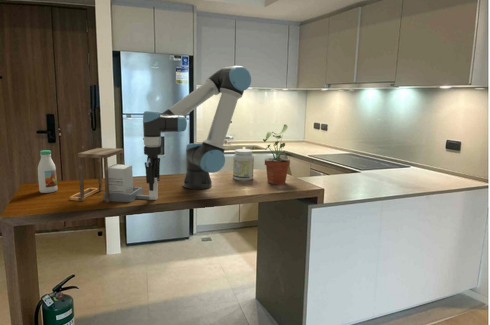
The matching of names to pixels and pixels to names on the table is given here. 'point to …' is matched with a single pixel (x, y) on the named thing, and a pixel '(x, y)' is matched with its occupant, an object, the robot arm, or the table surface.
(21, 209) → the table surface
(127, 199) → the cradle
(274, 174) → the potted plant
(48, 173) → the milk bottle
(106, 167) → the tunnel
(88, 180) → the table surface
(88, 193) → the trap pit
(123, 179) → the supplement box
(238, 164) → the supplement tub
